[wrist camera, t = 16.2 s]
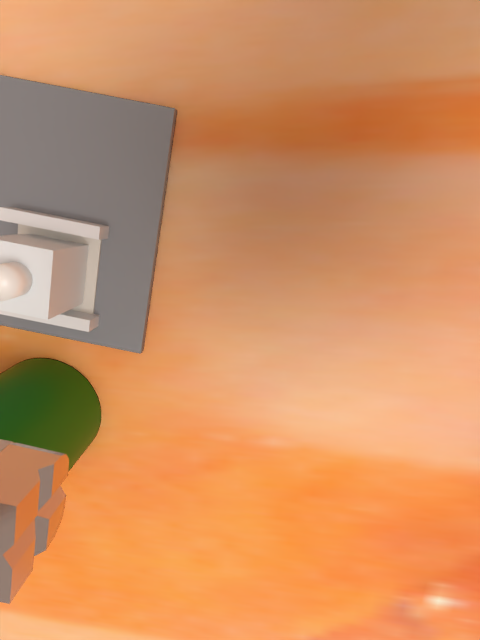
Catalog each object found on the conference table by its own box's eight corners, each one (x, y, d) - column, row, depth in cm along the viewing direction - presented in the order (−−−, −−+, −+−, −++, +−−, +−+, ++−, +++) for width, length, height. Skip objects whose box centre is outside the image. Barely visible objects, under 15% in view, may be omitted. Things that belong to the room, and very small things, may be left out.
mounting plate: (-22, 73, 34) (-47, 60, 31) (177, 110, 34) (168, 101, 31) (-31, 315, 39) (-53, 322, 36) (143, 350, 38) (133, 360, 36)
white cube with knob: (30, 233, 36) (-37, 238, 28) (89, 245, 36) (38, 253, 28) (26, 292, 37) (-39, 312, 29) (83, 303, 37) (32, 326, 29)
